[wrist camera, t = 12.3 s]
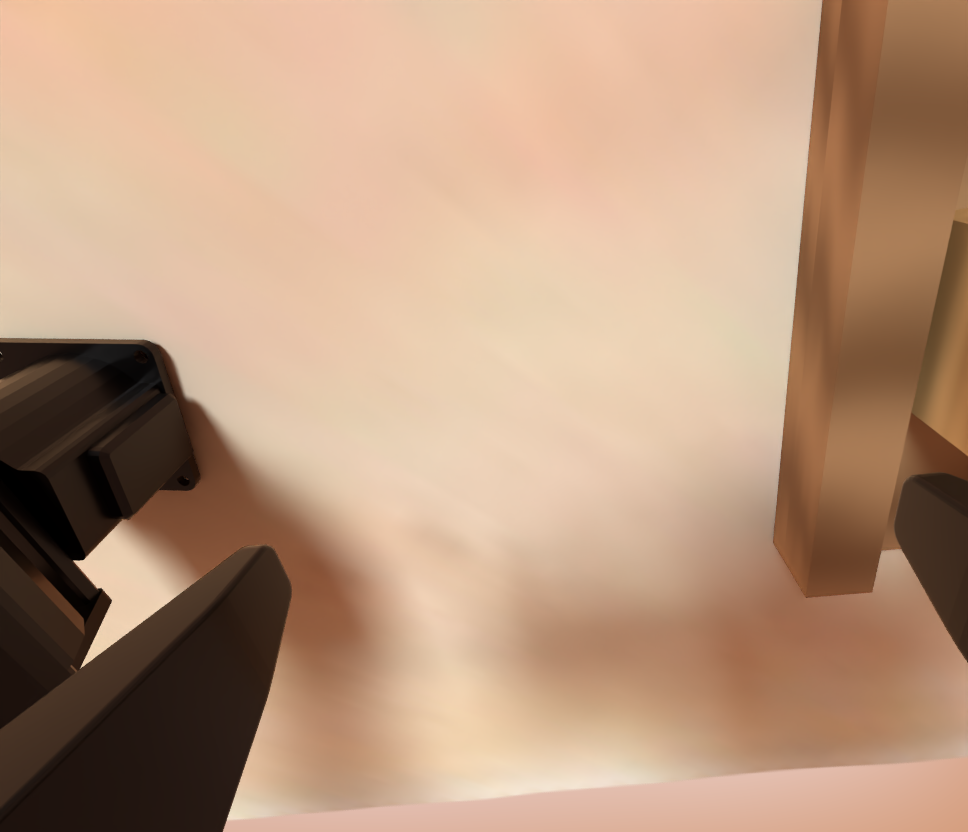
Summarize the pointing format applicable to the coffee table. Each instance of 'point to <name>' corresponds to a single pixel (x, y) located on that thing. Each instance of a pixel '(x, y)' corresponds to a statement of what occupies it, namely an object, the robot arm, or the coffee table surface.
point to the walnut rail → (870, 281)
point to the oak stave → (948, 346)
